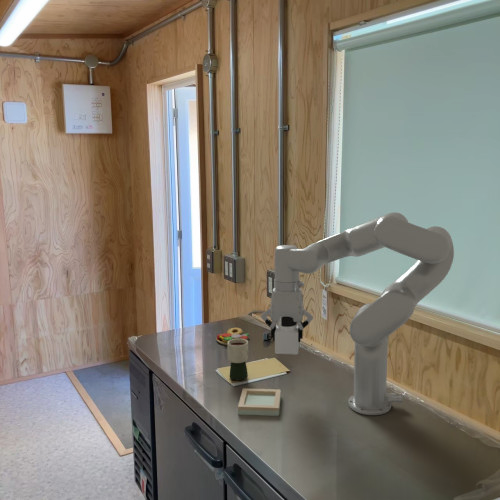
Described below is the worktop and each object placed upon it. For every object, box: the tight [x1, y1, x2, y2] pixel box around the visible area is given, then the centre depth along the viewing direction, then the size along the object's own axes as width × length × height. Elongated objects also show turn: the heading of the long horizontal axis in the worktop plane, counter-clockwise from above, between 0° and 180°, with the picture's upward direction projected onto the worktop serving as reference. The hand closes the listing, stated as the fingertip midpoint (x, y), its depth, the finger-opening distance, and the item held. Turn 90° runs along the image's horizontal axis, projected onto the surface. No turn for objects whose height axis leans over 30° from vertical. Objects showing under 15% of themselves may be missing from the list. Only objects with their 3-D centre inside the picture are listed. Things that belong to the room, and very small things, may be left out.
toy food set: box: [215, 327, 250, 346], centre depth 216 cm, size 13×13×3 cm
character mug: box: [226, 339, 250, 381], centre depth 179 cm, size 11×7×13 cm, turn 25°
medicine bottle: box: [274, 317, 300, 355], centre depth 165 cm, size 7×7×12 cm
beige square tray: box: [237, 387, 282, 417], centre depth 160 cm, size 12×12×2 cm
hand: (286, 339), depth 165 cm, fingers closed on medicine bottle, 7 cm apart
